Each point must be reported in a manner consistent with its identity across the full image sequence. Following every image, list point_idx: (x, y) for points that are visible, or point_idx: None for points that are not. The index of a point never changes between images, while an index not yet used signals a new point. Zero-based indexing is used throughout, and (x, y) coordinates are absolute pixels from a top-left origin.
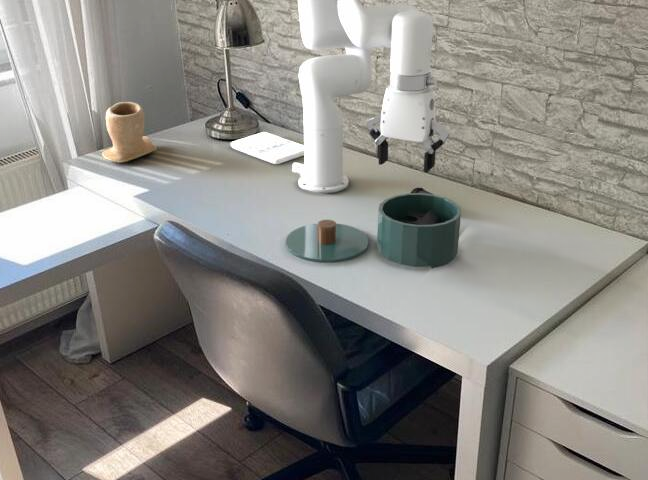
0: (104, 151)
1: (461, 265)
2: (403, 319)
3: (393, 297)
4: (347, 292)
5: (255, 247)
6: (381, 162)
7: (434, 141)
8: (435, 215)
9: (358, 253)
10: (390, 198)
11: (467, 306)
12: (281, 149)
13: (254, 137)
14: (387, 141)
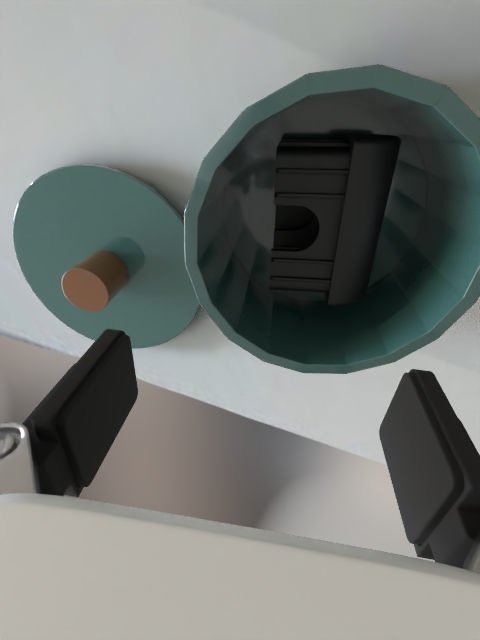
0: None
1: None
2: (342, 443)
3: (313, 400)
4: (236, 403)
5: (9, 316)
6: (130, 404)
7: None
8: (381, 169)
9: (199, 303)
10: (198, 201)
11: (450, 397)
12: None
13: None
14: (47, 420)
